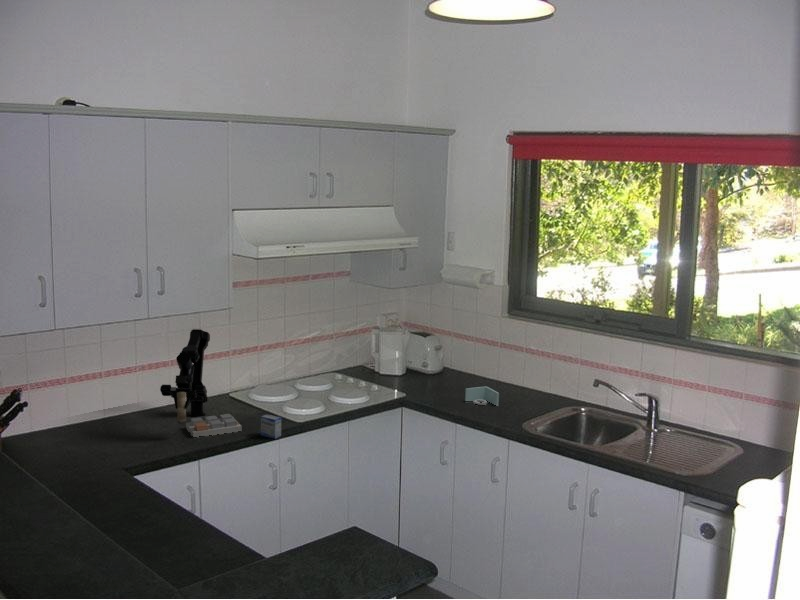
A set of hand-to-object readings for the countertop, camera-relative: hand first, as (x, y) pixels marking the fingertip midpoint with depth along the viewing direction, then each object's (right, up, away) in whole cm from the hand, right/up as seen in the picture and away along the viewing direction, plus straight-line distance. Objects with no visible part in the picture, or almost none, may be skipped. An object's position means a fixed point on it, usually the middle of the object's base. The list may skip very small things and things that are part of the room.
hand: (180, 408), depth 348 cm
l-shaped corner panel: (+133, -7, +63) cm, 147 cm away
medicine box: (+36, -13, +10) cm, 40 cm away
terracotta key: (+6, -10, +8) cm, 15 cm away
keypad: (+11, -11, +15) cm, 21 cm away
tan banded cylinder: (0, -6, +3) cm, 7 cm away
